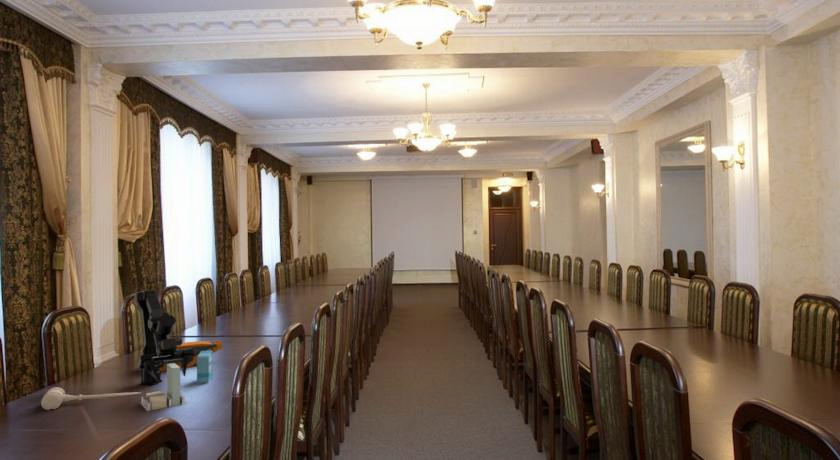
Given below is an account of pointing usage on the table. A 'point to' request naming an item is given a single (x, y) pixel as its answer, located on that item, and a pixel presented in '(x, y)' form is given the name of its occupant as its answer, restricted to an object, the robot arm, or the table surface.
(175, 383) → the pale green slab
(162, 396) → the offcut upper
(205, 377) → the data package
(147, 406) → the rack
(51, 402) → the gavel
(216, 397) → the table surface
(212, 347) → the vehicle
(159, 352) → the robot arm
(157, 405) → the offcut lower
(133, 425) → the table surface
